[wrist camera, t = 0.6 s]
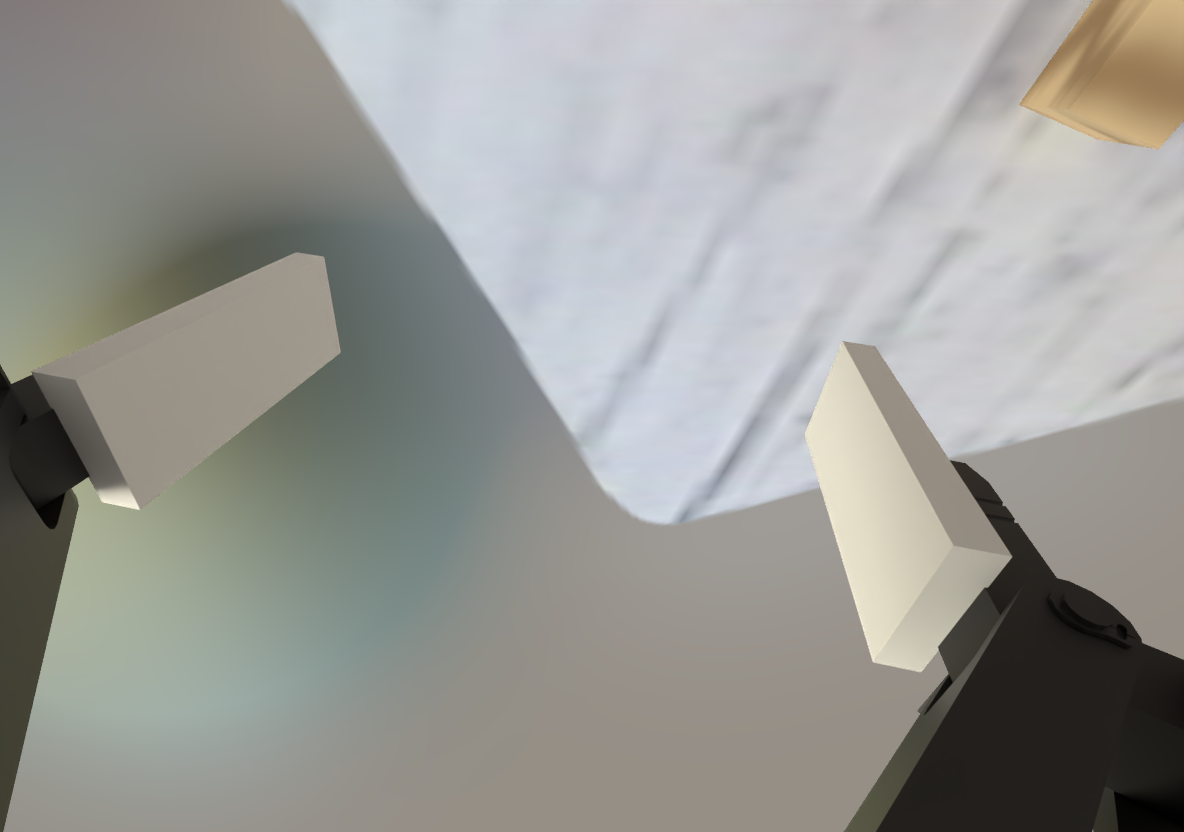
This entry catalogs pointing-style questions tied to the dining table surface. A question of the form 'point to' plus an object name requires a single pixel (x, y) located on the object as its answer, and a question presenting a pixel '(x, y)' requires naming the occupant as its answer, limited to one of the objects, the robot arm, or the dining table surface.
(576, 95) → the dining table surface
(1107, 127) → the oak cube
